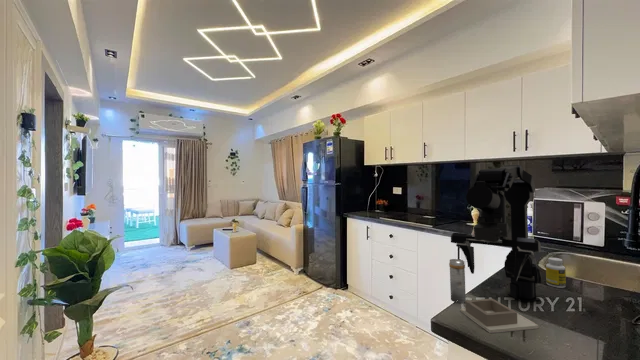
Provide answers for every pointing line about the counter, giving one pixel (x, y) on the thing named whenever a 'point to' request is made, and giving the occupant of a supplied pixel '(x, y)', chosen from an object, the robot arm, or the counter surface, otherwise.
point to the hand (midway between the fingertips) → (493, 277)
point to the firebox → (495, 316)
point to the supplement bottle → (555, 273)
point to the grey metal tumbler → (457, 280)
